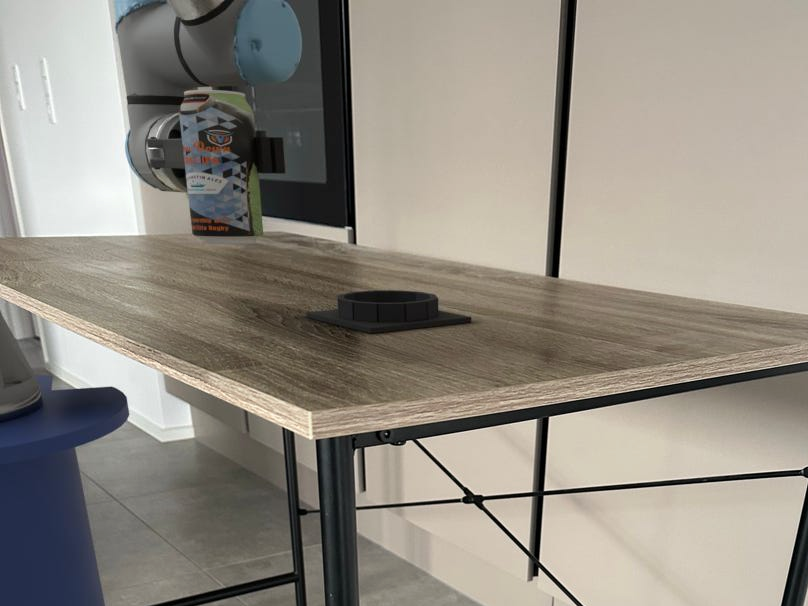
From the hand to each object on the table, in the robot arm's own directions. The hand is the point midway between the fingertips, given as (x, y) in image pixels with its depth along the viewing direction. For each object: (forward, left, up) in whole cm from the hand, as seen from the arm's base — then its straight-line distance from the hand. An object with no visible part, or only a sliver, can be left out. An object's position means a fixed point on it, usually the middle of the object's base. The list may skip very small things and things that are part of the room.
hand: (273, 155), depth 79 cm
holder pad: (+22, +17, -17) cm, 33 cm away
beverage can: (-2, +3, -7) cm, 8 cm away
